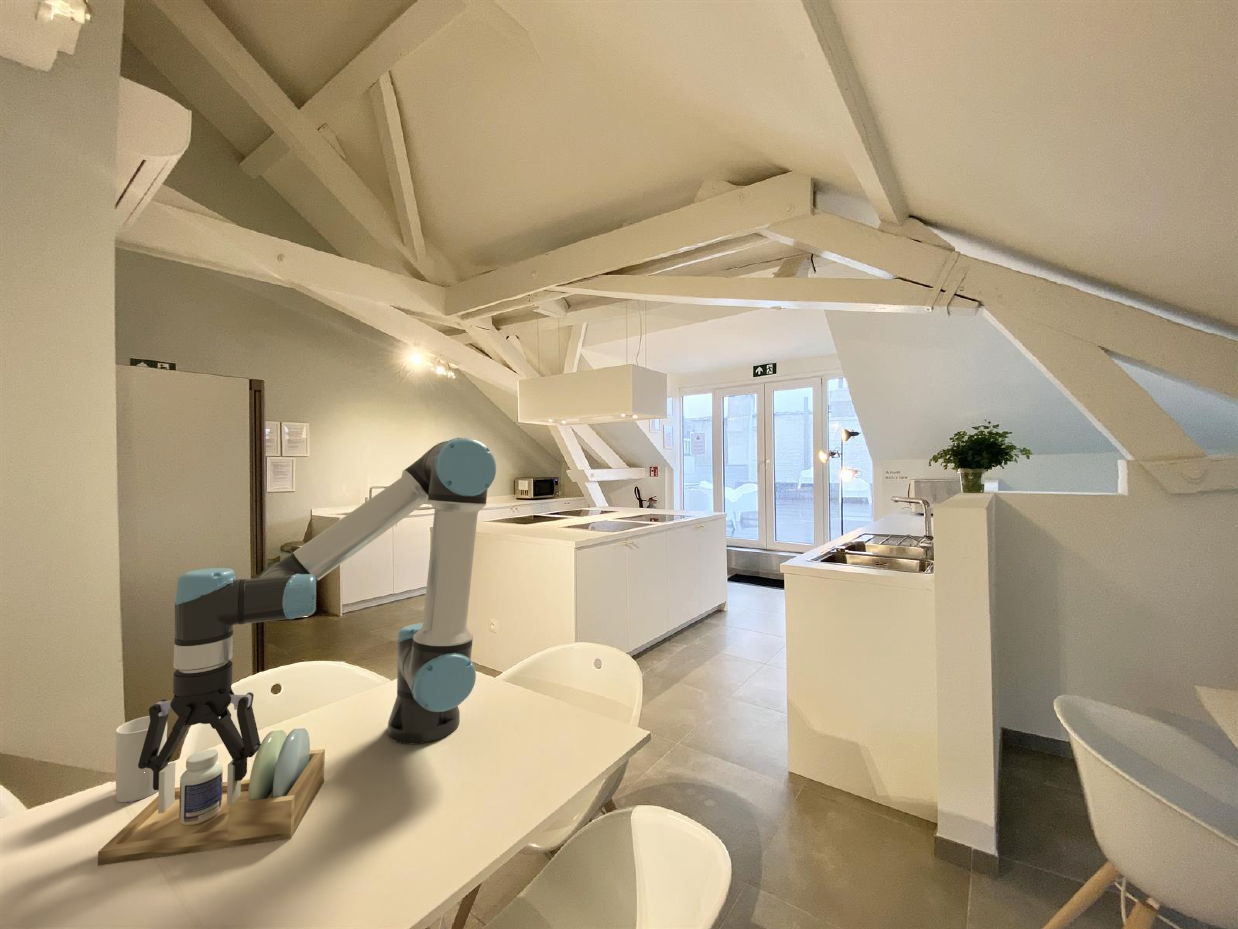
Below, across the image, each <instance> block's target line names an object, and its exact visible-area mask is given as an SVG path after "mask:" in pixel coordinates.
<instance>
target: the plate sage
mask: <svg viewBox="0 0 1238 929" xmlns="http://www.w3.org/2000/svg"><path fill="white" fill-rule="evenodd" d="M287 736H288V734H287V733H286V731H284V729H283V730H281V729H280V730H272V731H270V732H268V733H267V734H266V735H265V736H264V738H263V739H262V741H261V742H260V743H261V745H260V747H259V749H258V751H257V752H256V753H255V757H254V760H253V763H252V767H251V772H250V774H249V775H250V776H249V779H250V781H249V792H248V798H249V801H250V800H259V799H267V798H268V796H269V795H270V794H271V792H272V791H273V782H274V774H275V769H276V764H277V760H278V757H279V753H280V751H281V748H282V745H283V743H284V741H285V739H286V737H287Z"/></svg>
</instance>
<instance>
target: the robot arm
mask: <svg viewBox="0 0 1238 929" xmlns="http://www.w3.org/2000/svg"><path fill="white" fill-rule="evenodd" d="M496 474H497V464H496V459H495V457H494V454H493V453H492V451H491V450H490V449H489V448H488V446H486V444H484V443H483V442H481V441H479V440H476V439H473V438H468V437H454V438H452V439H449V440H445V441H442V442H439V443H437V444H435V445H434V446H432V447H431V448H430V449H429V450H427V451H426V452H425V453H424V454H423V455H421V457H419V458H418V459H417V460H416V461H415V462H413V463H412V464H410V465H409V466H407V467H405V469H404V470H402V473H401V477H400V478H398V479H397V480H396V481H394V482H393V483H391V484H390V485H388V486H387V487H385V488H384V489H383V490H381V491H380V492H378V493H377V494H375V495H374V496H372V497H371V498H370V499H367V500H366V501H364V503H362V504H361V505H360V506H358V507H356V508H355V509H354V510H353V511H351V512H349V513H348V514H346V515H345V516H344V517H342V518H341V519H339V520H338V521H336V522H334V523H333V524H332V525H330V527H328V528H326V529H325V530H322V532H320V533H319V534H317V535H316V536H314V537H313V538H311V539H310V540H308V541H307V542H306V543H304V544H303V545H302V546H300V547H298V548H297V549H296V550H294V551H293V552H292V553H290V554H289V555H287V556H285V557H284V558H282V559H281V560H279V561H278V562H276V563H273V564H271V565H269V566H268V567H267V568H264V570H263V571H262V572H261V574H260V575H259V576H258V577H257V578H256V577H255V578H244V579H243V578H237V577H236V576H235V575H236V573H235V571H234V569H232V568H228V567H218V568H217V567H211V568H202V569H196V570H190V571H187V572H184V573H183V574H181V575H179V577H178V578H177V580H176V590H175V601H174V602H173V603H174V604H173V605H174V645H173V669H176V670H175V671H174V672H173V675H172V676H173V677H172V694H173V698H172V699H169V700H167V699H160V700H159V701H157V702H156V703H154V704H153V705H151V706H150V707H149V709H148V714H149V715H148V716H150V724H149V727H148V731H147V735H146V738H145V742H144V745H143V749H142V753H141V756H140V760H139V763H138V767H139V768H140V769H144V768H150V769H152V771H153V789H154V790H159V791H158V796H159V799H158V814H159V813H164V812H165V811H166V810H167V809H168V808H169V807H170V806H171V805H172V804H173V803H174V802H175V788H176V764H177V763H176V761H174V762H170V761H171V760H172V759H173V755H174V753H175V752H176V750H177V748H178V746H179V745H180V744H181V741H182V739H183V737H184V736H185V734H186V732H187V730H188V728H189V727H190V726H194V725H197V724H201V725H202V724H203V725H210V727H211V728H212V730H213V729H214V730H215V731H216V733H217V734H218V736H219V738H220V740H221V741H222V743H223V745H224V747H225V748H226V750H227V752H228V754H229V756H230V758H231V759H232V760H231V761H230V762H229V763H228V764H227V778H226V782H227V805H231V804H232V803H234V802H235V800H236V799H237V798H238V797H239V796H240V794H241V780H244V778H245V777H246V775H247V773H248V758H253V756H255V755H256V754H257V751H258V749H259V747H260V745H261V743H262V742H261V740H260V735H259V731H258V727H257V721H256V717H255V714H254V709H253V702H254V693H253V692H247V693H246V694H235V692H234V691H233V689H232V684H233V662H232V660H231V659H232V658H233V648H234V647H233V646H234V645H233V644H234V643H233V642H234V626H237V625H246V624H255V623H264V622H271V621H272V622H273V621H281V620H295V619H297V618H303V617H308V616H311V615H312V614H314V613H315V611H316V605H317V604H316V603H317V602H316V600H317V582H319V581H320V580H321V579H322V578H324V577H325V576H326V575H328V574H330V572H332V571H334V570H335V569H336V568H338V567H339V566H340V565H341V564H343V563H344V562H346V561H347V560H349V559H350V558H352V557H353V556H354V555H356V554H357V553H358V552H360V551H361V550H362V549H363V548H365V547H366V546H368V545H369V544H370V543H372V542H373V541H375V540H376V539H378V538H379V537H380V536H382V535H383V534H384V533H386V532H387V531H388V530H390V529H392V528H393V527H395V525H396V524H398V523H399V522H401V521H403V519H405V518H406V517H408V516H409V515H411V513H413V512H414V511H416V510H417V509H419V508H420V507H421V506H423V505H431V507H433V510H434V511H433V512H434V514H433V521H432V523H433V524H432V533H431V541H430V542H431V543H430V552H429V560H428V568H427V570H428V571H427V580H426V589H425V591H426V592H425V598H424V599H425V600H424V609H423V618H422V622H418V623H412V624H409V625H406V626H403V627H402V628H400V630H399V631H398V635H397V641H396V644H397V666H396V667H397V673H396V674H397V676H396V677H397V678H396V679H397V680H396V682H397V683H396V684H397V685H396V698H395V700H394V701H395V702H394V704H393V707H392V710H391V713H390V716H389V719H388V722H387V736H388V738H389V739H390V740H392V741H394V742H396V743H399V744H406V745H416V744H425V743H430V742H433V741H437V740H440V739H442V738H444V737H447V736H448V735H450V734H451V733H453V732H454V731H456V729H458V727H459V725H460V719H461V718H460V717H461V716H460V712H461V711H460V708H459V706H460V705H461V704H462V702H464V701H465V700H466V699H468V697H469V696H470V694H471V693H472V691H473V689H474V686H475V685H476V679H477V674H476V667H475V664H474V662H473V661H472V649H473V640H474V639H473V638H474V637H473V636H474V635H473V633H472V632H471V631H470V630H469V629H468V628H467V623H468V612H469V604H470V595H471V594H470V593H471V583H472V572H473V564H474V553H475V545H476V544H475V542H476V534H477V523H478V514H479V512H480V511H481V510H482V509H483V508H484V507H486V505H487V499H488V498H487V497H488V490H489V488H490V486H492V484H493V482H494V480H495V477H496ZM231 704H233V709H234V710H235V711H236V718H237V722H238V727H239V730H240V731H239V730H238V728H237V727H236V725H235V722H234V721H233V719H232V713H231V712H230V710H229V708H228V707H229V706H230V705H231ZM171 711H173V712H174V713H175V714H176V715H177V717H178V718H177V719H176V721H175V723H174V725H173V727H172V728H171V729H172V730H171V732H170V733H169V735H168V737H167V740H166V742H165V744H164V746H163V748H162V749H161V751H160V753H159V755H158V752H159V748H160V745H161V741H162V737H163V734H164V730H165V726H166V723H167V724H168V719H169V714H170V713H171ZM157 755H158V756H157Z"/></svg>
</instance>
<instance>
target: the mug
mask: <svg viewBox="0 0 1238 929" xmlns="http://www.w3.org/2000/svg"><path fill="white" fill-rule="evenodd" d="M149 724H150V715H147V716H142V717H137V718H135V719H132V720H130V721H127V722H124V723H123V724H121V725H119V726H118V727H116V729H115V798H116V799H115V800H116V801H117V802H118V803H119V802H120V803H131V802H135V801H139V800H144V799H146V798H147V797H150V796H153V795H155V793H158V792H159V790H154V789H153V771H152V769H150V768H144V769H140V768H139V767H138V763H139V760H140V756H141V753H142V749H143V745H144V742H145V738H146V735H147V731H148V727H149ZM167 736H168V722H167V723H166V726H165V730H164V734H163V737H162V741H161V745H160V748H159V752H158V755H159V753H160V751H161V749H162V748H163V746H164V744H165V742H166V741H167V739H168V737H167ZM158 755H157V756H158ZM144 772H145V773H144Z"/></svg>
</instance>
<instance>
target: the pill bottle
mask: <svg viewBox="0 0 1238 929" xmlns="http://www.w3.org/2000/svg"><path fill="white" fill-rule="evenodd" d="M218 758H219V751H218V749H215V748H209V749H208V748H207V749H204V750H203V749H202V750H199V751H196V752H194V753H192V754H190V755H189V756H188V757H187V758H186V762H185V768H186V770H185V771H184V772H183V773H181V776H180V780H179V787H180V807H179V821H180V823H181V824H183V825H195V824H199V823H202V822H204V821H207V820H209V819H210V818H212V817H214V816H215V815H216V814H218V813H219V811H220V810H221V807H222V782H223V776H224V775H223V774H224V772H223V771H224V770H223V769H224V767H223V764H222V763H221V762H220V761H218Z"/></svg>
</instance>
